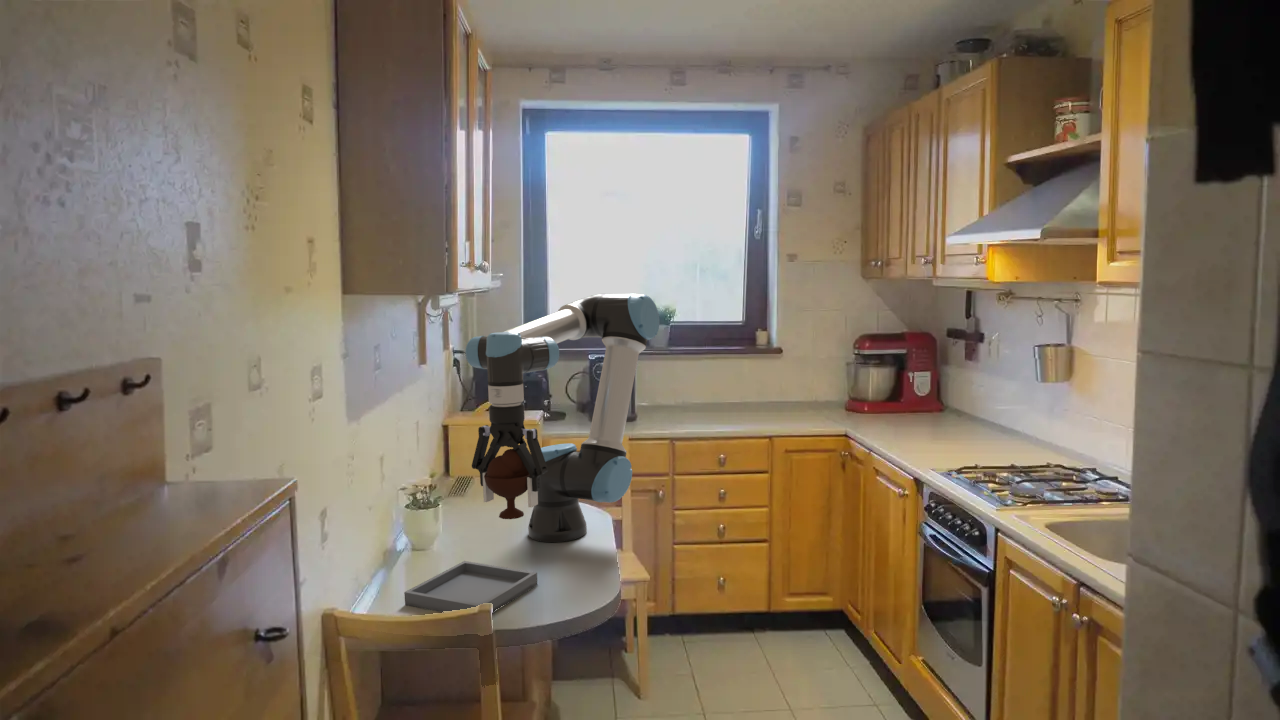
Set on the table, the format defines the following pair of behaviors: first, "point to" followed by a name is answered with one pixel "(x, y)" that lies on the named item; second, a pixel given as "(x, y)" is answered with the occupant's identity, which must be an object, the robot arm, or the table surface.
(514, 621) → the table surface
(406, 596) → the tray
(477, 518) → the table surface
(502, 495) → the ice cream bowl
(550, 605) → the table surface
